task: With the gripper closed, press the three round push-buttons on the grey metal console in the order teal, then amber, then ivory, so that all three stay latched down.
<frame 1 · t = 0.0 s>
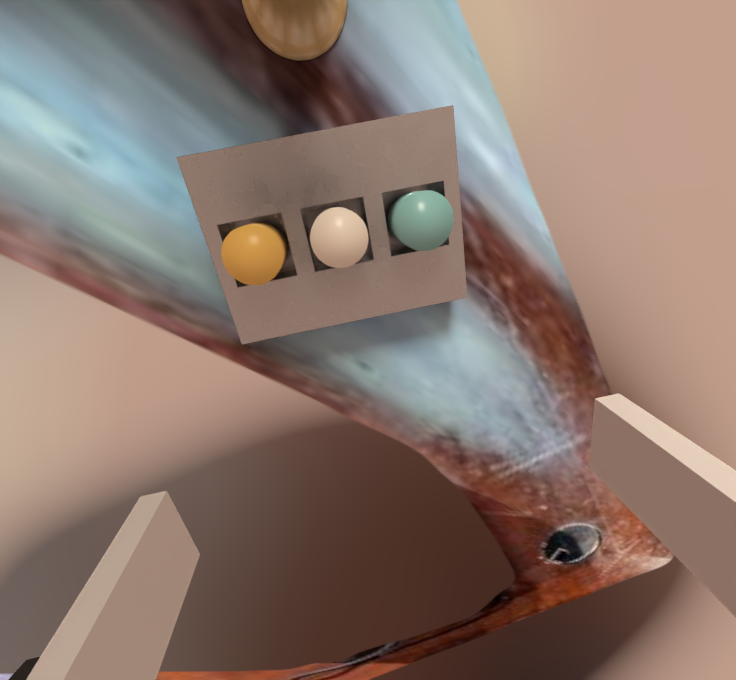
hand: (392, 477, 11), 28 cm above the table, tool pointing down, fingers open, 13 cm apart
teal button: (418, 220, 30), point 5 cm above the table, slide at 0.0 cm
amber button: (257, 252, 30), point 5 cm above the table, slide at 0.0 cm
ivory button: (338, 236, 30), point 5 cm above the table, slide at 0.0 cm
console: (336, 231, 35), on the table
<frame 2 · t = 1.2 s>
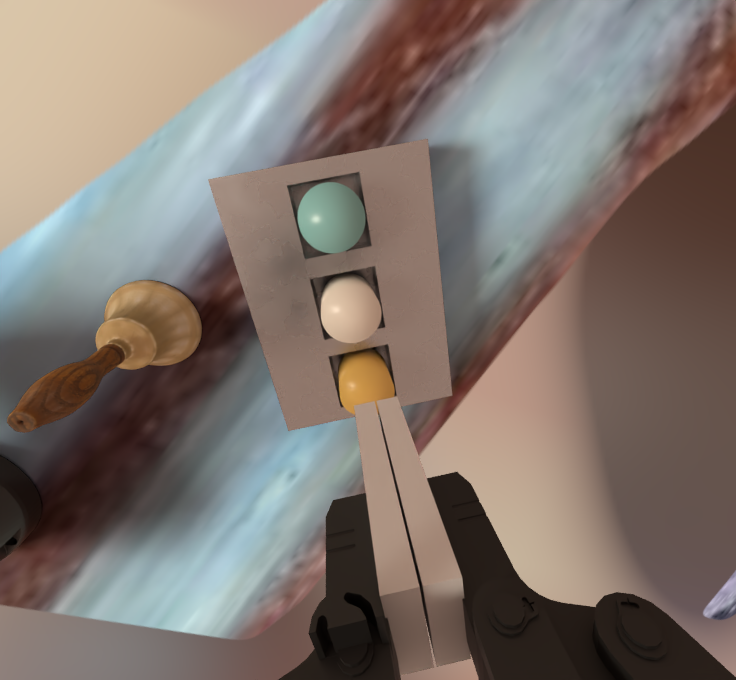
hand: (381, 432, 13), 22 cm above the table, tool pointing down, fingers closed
teal button: (331, 217, 26), point 5 cm above the table, slide at 0.0 cm
amber button: (364, 380, 31), point 5 cm above the table, slide at 0.0 cm
ivory button: (349, 306, 29), point 5 cm above the table, slide at 0.0 cm
hand bell: (156, 323, 33), on the table
console: (345, 291, 34), on the table
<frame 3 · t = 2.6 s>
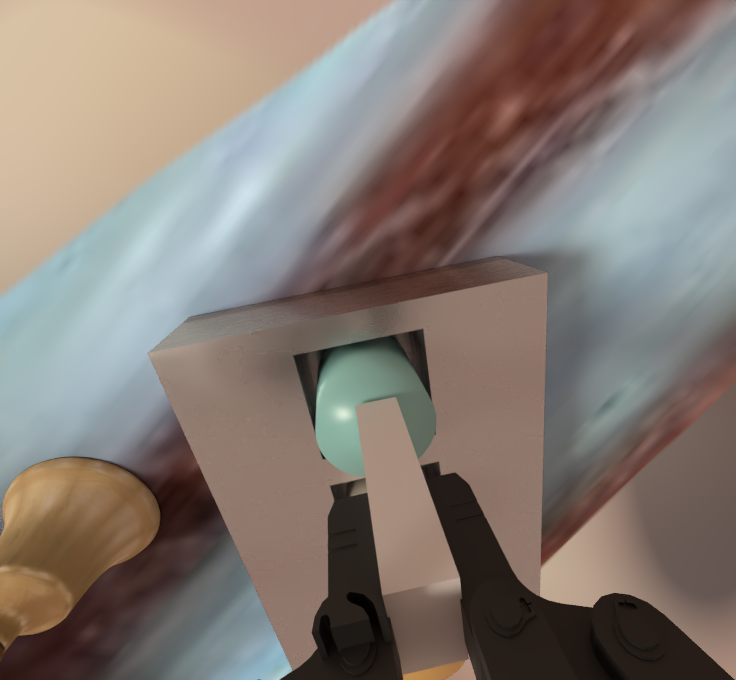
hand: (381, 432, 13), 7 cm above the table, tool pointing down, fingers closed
teal button: (369, 397, 15), point 4 cm above the table, slide at -0.8 cm, touching gripper
amber button: (412, 613, 20), point 5 cm above the table, slide at 0.0 cm
ivory button: (395, 526, 17), point 5 cm above the table, slide at 0.0 cm
hand bell: (89, 509, 21), on the table
console: (379, 455, 22), on the table
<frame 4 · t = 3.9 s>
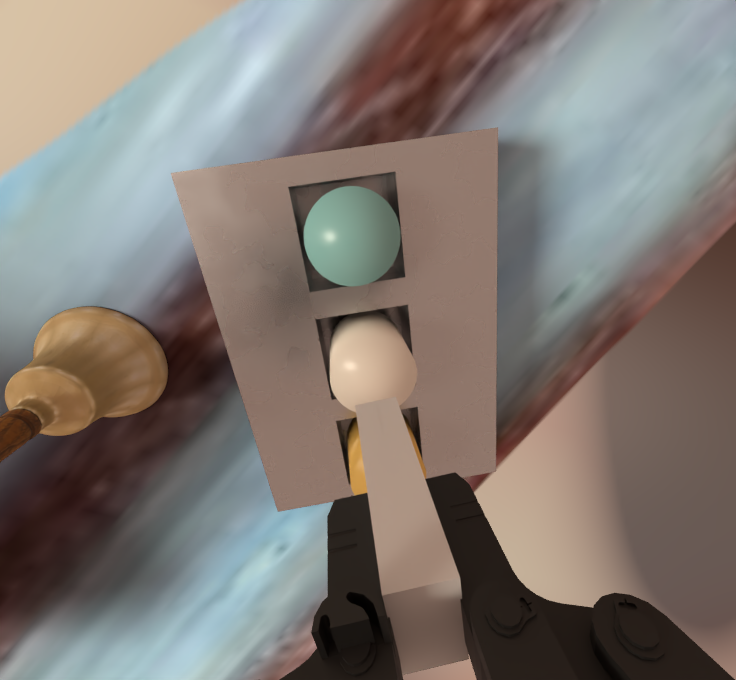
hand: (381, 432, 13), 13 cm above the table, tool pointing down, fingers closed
teal button: (350, 234, 19), point 4 cm above the table, slide at -1.0 cm
amber button: (383, 454, 23), point 5 cm above the table, slide at 0.0 cm
ivory button: (369, 359, 21), point 5 cm above the table, slide at 0.0 cm
hand bell: (106, 362, 25), on the table
console: (361, 328, 25), on the table
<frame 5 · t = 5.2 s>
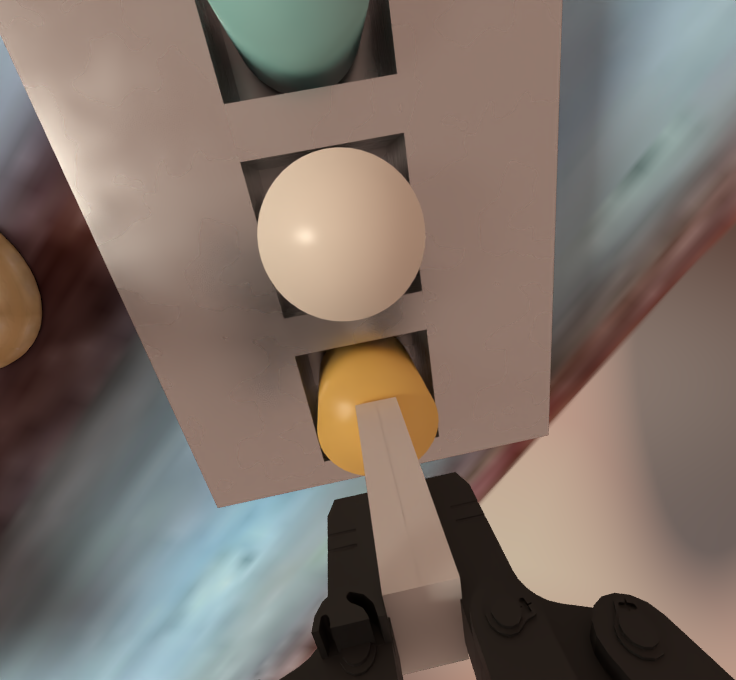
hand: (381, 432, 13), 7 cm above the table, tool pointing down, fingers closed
amber button: (371, 397, 15), point 4 cm above the table, slide at -1.0 cm, touching gripper
ivory button: (340, 234, 12), point 5 cm above the table, slide at 0.0 cm
console: (335, 224, 17), on the table
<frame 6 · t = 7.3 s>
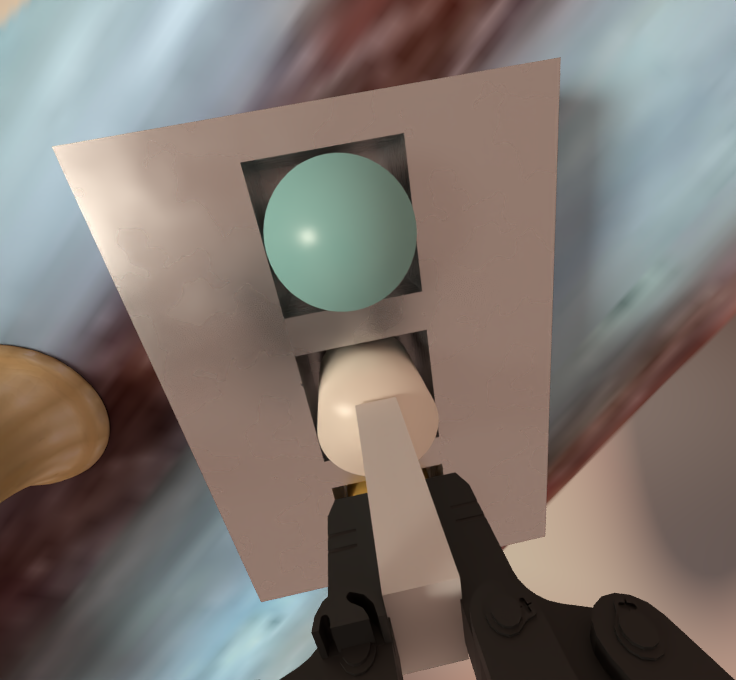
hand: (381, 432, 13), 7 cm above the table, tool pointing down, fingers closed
teal button: (339, 232, 13), point 4 cm above the table, slide at -1.0 cm
amber button: (394, 512, 18), point 4 cm above the table, slide at -1.0 cm
ivory button: (371, 397, 15), point 4 cm above the table, slide at -1.0 cm, touching gripper
hand bell: (26, 414, 19), on the table
console: (362, 356, 19), on the table
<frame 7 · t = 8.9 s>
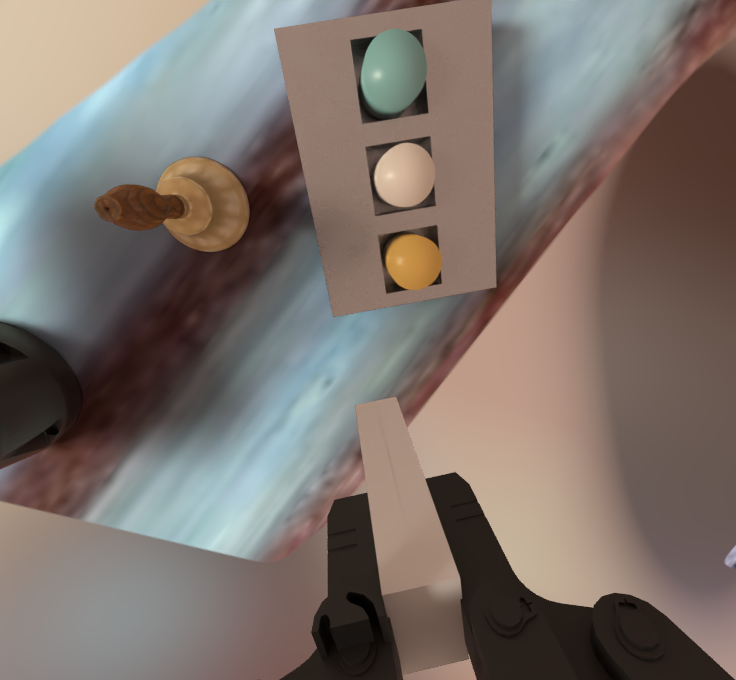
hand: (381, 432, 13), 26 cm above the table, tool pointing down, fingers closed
teal button: (390, 79, 27), point 4 cm above the table, slide at -1.0 cm
amber button: (410, 259, 33), point 4 cm above the table, slide at -1.0 cm
ivory button: (401, 177, 30), point 4 cm above the table, slide at -1.0 cm
hand bell: (204, 206, 33), on the table
console: (393, 180, 34), on the table
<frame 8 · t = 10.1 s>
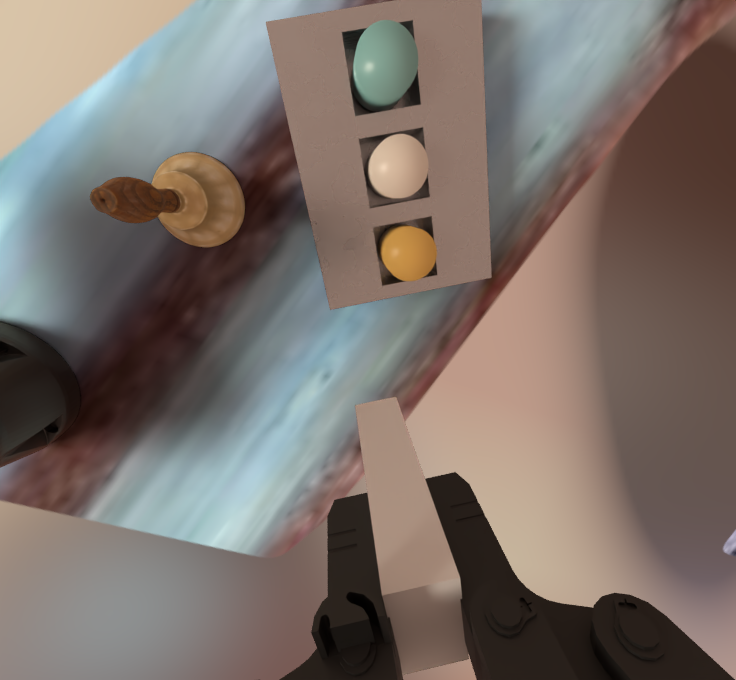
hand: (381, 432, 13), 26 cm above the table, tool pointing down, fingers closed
teal button: (382, 70, 27), point 4 cm above the table, slide at -1.0 cm
amber button: (405, 251, 33), point 4 cm above the table, slide at -1.0 cm
ivory button: (395, 169, 30), point 4 cm above the table, slide at -1.0 cm
hand bell: (200, 201, 33), on the table
console: (387, 172, 34), on the table
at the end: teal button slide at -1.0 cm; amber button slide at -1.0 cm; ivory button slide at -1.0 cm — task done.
